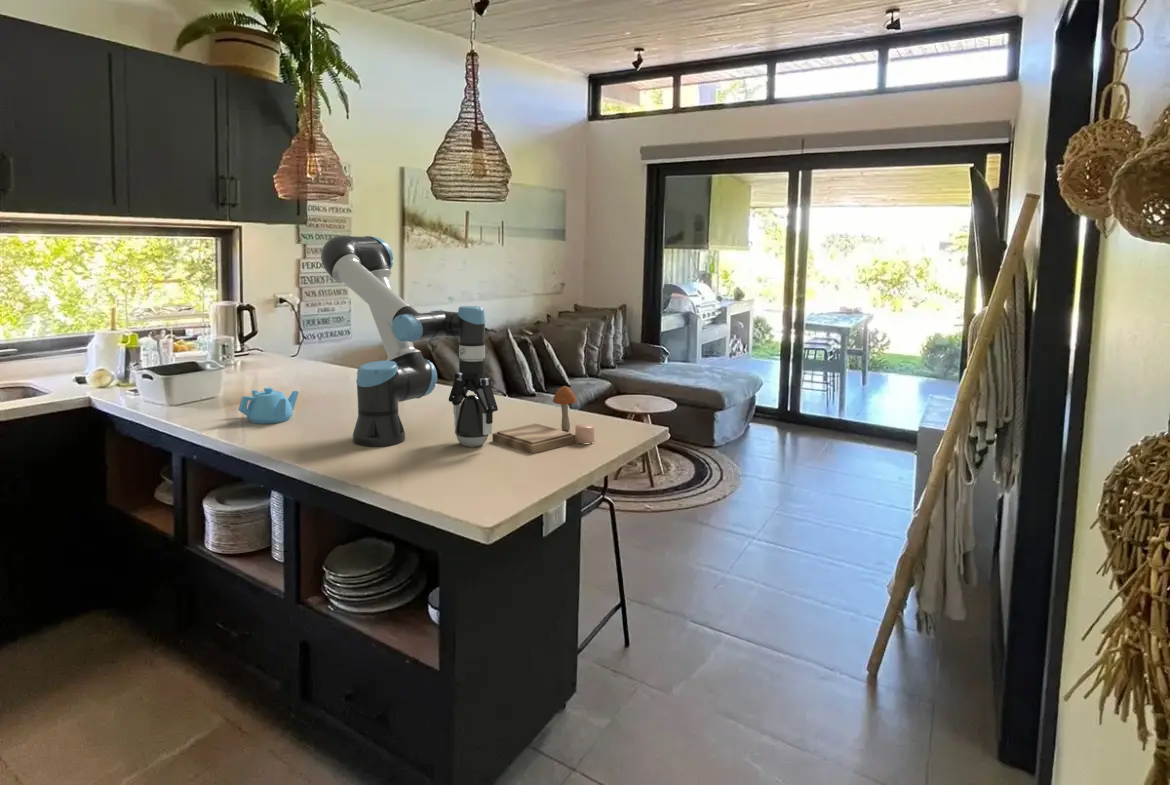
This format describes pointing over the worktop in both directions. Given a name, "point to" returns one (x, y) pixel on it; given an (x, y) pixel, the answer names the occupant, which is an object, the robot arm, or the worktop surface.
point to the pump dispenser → (470, 422)
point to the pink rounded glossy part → (585, 433)
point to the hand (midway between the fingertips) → (472, 430)
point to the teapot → (268, 406)
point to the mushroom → (564, 404)
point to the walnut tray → (534, 438)
